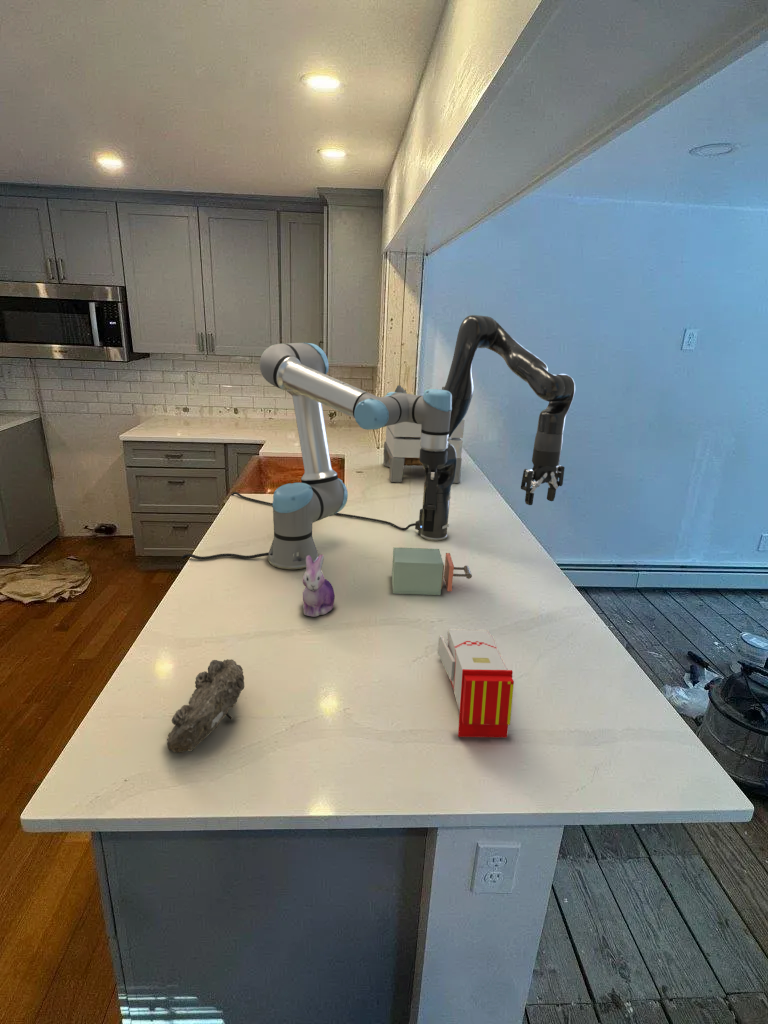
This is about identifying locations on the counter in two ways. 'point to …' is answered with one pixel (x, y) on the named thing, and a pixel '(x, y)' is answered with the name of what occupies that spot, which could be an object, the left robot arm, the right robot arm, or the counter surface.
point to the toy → (478, 682)
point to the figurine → (316, 589)
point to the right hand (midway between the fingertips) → (539, 502)
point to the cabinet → (417, 571)
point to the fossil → (206, 705)
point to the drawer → (449, 572)
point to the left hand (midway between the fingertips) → (428, 522)
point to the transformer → (413, 446)
